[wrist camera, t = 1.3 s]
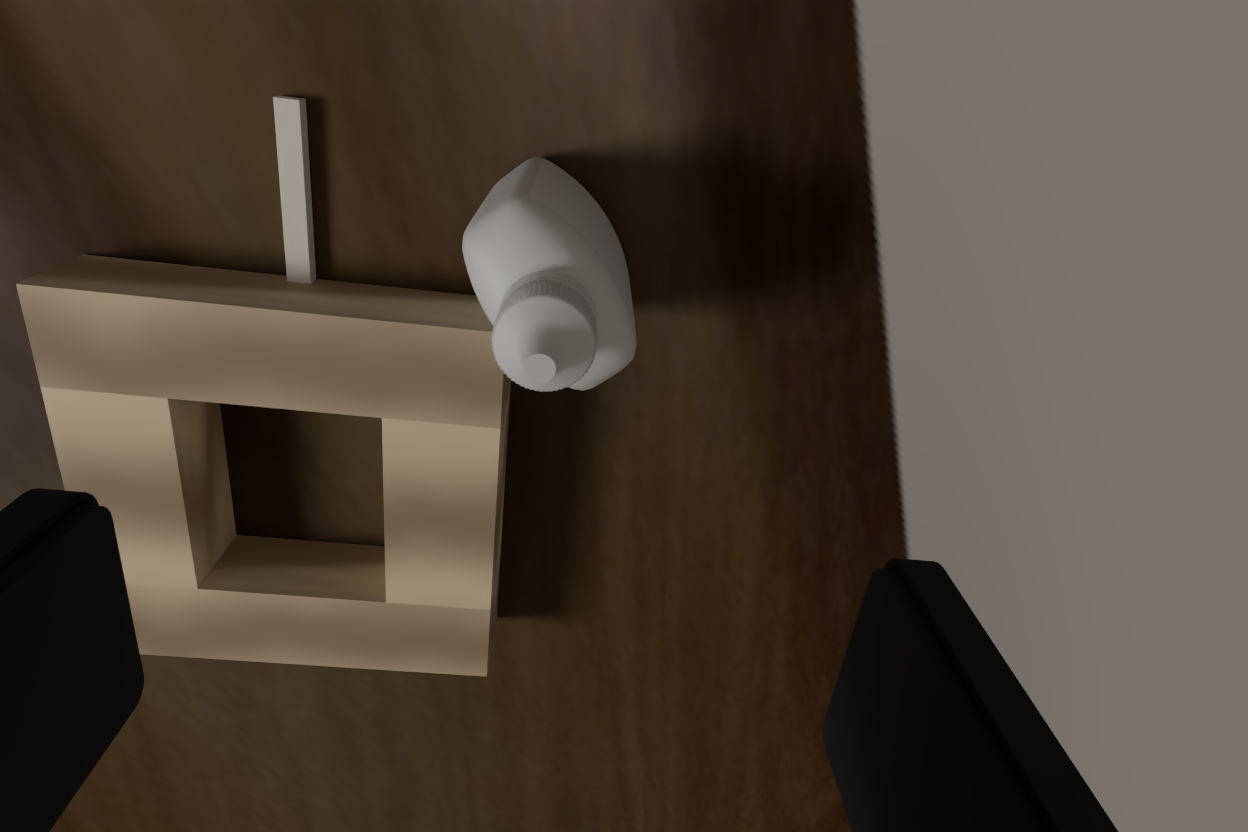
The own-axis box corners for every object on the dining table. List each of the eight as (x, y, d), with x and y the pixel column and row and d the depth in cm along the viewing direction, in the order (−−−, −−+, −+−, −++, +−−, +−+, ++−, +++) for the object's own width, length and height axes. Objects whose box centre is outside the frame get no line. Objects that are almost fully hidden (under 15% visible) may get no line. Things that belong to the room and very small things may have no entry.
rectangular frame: (83, 254, 27) (16, 283, 24) (515, 299, 28) (505, 333, 25) (149, 593, 33) (103, 651, 30) (496, 618, 35) (486, 676, 31)
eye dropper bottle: (616, 146, 26) (630, 226, 15) (631, 305, 28) (652, 472, 17) (487, 159, 26) (409, 248, 15) (513, 317, 28) (462, 491, 18)
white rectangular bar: (280, 95, 25) (273, 96, 24) (305, 98, 25) (299, 100, 24) (293, 276, 27) (287, 281, 27) (316, 278, 27) (310, 283, 27)
